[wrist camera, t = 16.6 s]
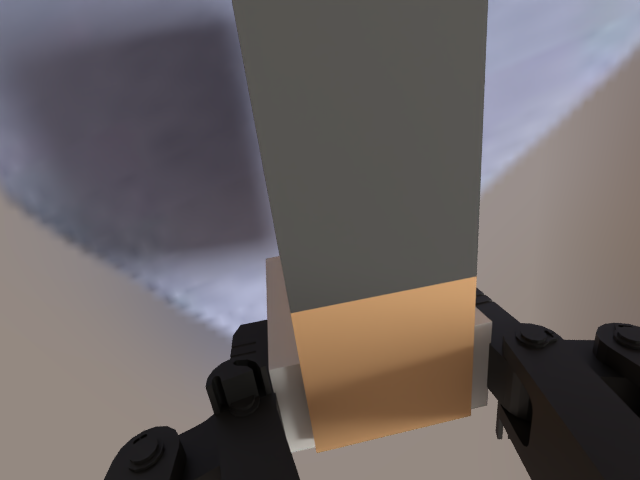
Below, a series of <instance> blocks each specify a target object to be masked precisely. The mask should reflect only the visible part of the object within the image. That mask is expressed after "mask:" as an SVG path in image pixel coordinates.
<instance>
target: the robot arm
mask: <svg viewBox="0 0 640 480" xmlns="http://www.w3.org/2000/svg"><path fill="white" fill-rule="evenodd" d="M266 285H267V320H263V321H258V322H253V323H248V324H243V325H240V327H239V328H238V330H237V331H236V332H235V334H234V335H233V340H232V349H231V355H230V357H231V358H230V360H227V361H225V362H223V363H221V364H220V365H219V366H218V367H217V368H215V369H214V370H213V371H212V373H211V374H210V375H209V377H208V379H207V383H206V390H207V393H208V396H209V399H210V402H211V405H212V408H213V411H214V414H213V415H212V416H211V417H210V418H209V419H207V420H206V421H204V422H203V423H201V424H199V425H198V426H196V427H194V428H192V429H190V430H188V431H186V432H184V433H182V434H180V435H178V434H177V432H176V430H174V429H172V428H170V427H168V426H163V427H154V428H151V429H148V430H145V431H143V432H141V433H140V434H138V435H137V436H135V437H133V438H132V439H131V440H130V441H129V442H127V443H126V444H125V445H124V446H123V447H122V448H121V449H120V451H119V452H118V454H117V455H116V457H115V458H114V460H113V462H112V464H111V466H110V468H109V470H108V472H107V474H106V476H105V479H104V480H300V478H299V475H298V472H297V469H296V466H295V463H294V460H293V457H292V454H291V453H293V452H297V451H301V450H305V449H309V448H314V447H315V441H314V436H313V431H312V425H311V420H310V415H309V409H308V404H307V399H306V393H305V388H304V383H303V377H302V372H301V367H300V361H299V356H298V351H297V345H296V340H295V335H294V329H293V324H292V319H291V313H290V308H289V303H288V297H287V292H286V287H285V281H284V276H283V271H282V265H281V260H280V256H277V257H272V258H267V259H266ZM488 389H489V390H490V391H491V392H492V394H493V395H494V396H495V397H496V398H497V400H498V409H497V421H496V435H497V438H498V439H502V434H503V426H504V428H505V430H506V432H507V434H508V439H510V440H511V441H512V443H513V445H514V447H515V449H516V451H517V453H518V455H519V457H520V459H521V461H522V463H523V464H524V466H525V468H526V470H527V472H528V474H529V476H530V478H531V480H640V327H638V326H633V325H631V324H622V323H609V324H604V325H602V326H600V327H598V329H597V332H596V336H595V340H563V339H562V338H561V337H560V336H559V335H558V334H556V333H555V332H554V331H552V330H550V329H547V328H545V327H543V326H539V325H535V324H525V323H520V322H518V321H517V320H516V319H515V318H514V317H512V316H511V315H510V314H509V313H507V312H506V311H505V310H504V309H502V308H501V307H500V306H499V305H497V304H496V303H495V302H492V300H491V299H490V298H489V297H488V296H486V295H484V293H482V292H481V291H480V290H479V289H478V288H476V302H475V326H474V350H473V375H472V399H471V409H474V408H478V407H482V406H486V405H487V399H488Z"/></svg>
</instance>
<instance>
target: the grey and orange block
mask: <svg viewBox="0 0 640 480" xmlns="http://www.w3.org/2000/svg"><path fill="white" fill-rule="evenodd" d="M232 4H233V9H234V15H235V20H236V25H237V31H238V36H239V41H240V47H241V52H242V57H243V63H244V68H245V73H246V79H247V84H248V89H249V95H250V100H251V105H252V111H253V116H254V121H255V127H256V132H257V137H258V143H259V148H260V153H261V159H262V164H263V169H264V175H265V180H266V185H267V191H268V196H269V201H270V207H271V212H272V217H273V223H274V228H275V233H276V239H277V244H278V249H279V255H280V260H281V265H282V271H283V276H284V281H285V287H286V292H287V297H288V303H289V308H290V313H291V319H292V324H293V329H294V335H295V340H296V345H297V351H298V356H299V361H300V367H301V372H302V377H303V383H304V388H305V393H306V399H307V404H308V409H309V415H310V420H311V425H312V431H313V436H314V441H315V447H316V452H317V453H319V452H323V451H327V450H331V449H336V448H339V447H344V446H348V445H352V444H356V443H360V442H364V441H368V440H373V439H377V438H381V437H385V436H389V435H393V434H398V433H402V432H406V431H410V430H414V429H418V428H422V427H426V426H430V425H435V424H439V423H443V422H447V421H451V420H455V419H459V418H464V417H468V416H470V415H471V399H472V375H473V350H474V326H475V302H476V278H477V276H476V275H477V253H478V229H479V205H480V181H481V157H482V133H483V109H484V85H485V60H486V36H487V12H488V0H232Z"/></svg>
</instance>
